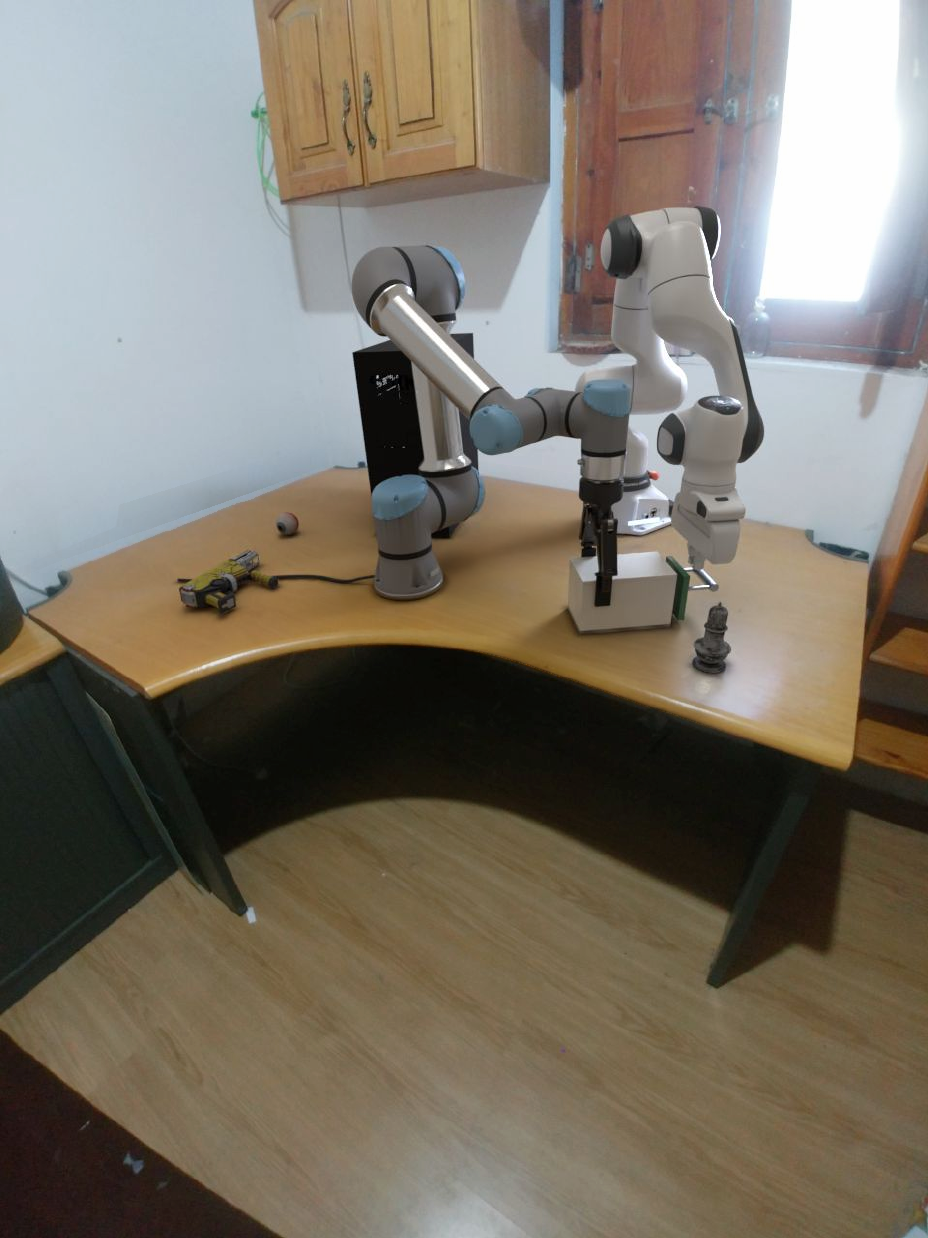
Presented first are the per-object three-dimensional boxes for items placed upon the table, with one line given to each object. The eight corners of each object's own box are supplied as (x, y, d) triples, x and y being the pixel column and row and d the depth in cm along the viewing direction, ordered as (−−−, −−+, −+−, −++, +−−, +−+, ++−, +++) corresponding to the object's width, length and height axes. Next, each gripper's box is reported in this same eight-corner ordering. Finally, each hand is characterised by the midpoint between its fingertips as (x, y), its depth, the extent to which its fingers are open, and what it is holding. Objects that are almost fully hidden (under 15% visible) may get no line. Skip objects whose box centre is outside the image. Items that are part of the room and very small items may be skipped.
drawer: (694, 595, 122) (701, 553, 117) (714, 617, 114) (722, 573, 109) (587, 604, 121) (590, 562, 116) (599, 627, 113) (603, 583, 108)
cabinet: (651, 601, 122) (657, 551, 117) (669, 627, 114) (677, 574, 108) (567, 608, 122) (569, 557, 116) (579, 634, 113) (582, 581, 107)
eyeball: (273, 537, 164) (268, 516, 161) (287, 528, 169) (282, 508, 166) (291, 539, 161) (286, 518, 158) (305, 530, 166) (301, 510, 163)
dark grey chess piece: (730, 675, 99) (743, 611, 93) (692, 672, 100) (703, 609, 94) (724, 655, 104) (736, 594, 98) (688, 653, 105) (698, 592, 99)
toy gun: (299, 558, 143) (245, 547, 147) (233, 601, 123) (173, 587, 126) (300, 576, 145) (248, 565, 149) (236, 621, 125) (177, 606, 129)
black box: (449, 537, 157) (436, 349, 134) (376, 534, 161) (352, 352, 139) (479, 491, 188) (473, 332, 166) (417, 489, 193) (403, 335, 170)
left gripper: (565, 460, 113) (562, 567, 124) (597, 500, 93) (590, 623, 104) (605, 457, 113) (598, 564, 124) (645, 496, 94) (632, 619, 105)
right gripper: (667, 479, 115) (659, 546, 122) (713, 515, 97) (701, 591, 104) (699, 477, 115) (689, 544, 122) (751, 512, 98) (736, 589, 104)
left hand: (594, 591), depth 114 cm, fingers closed on cabinet, 10 cm apart
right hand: (695, 566), depth 113 cm, fingers closed
